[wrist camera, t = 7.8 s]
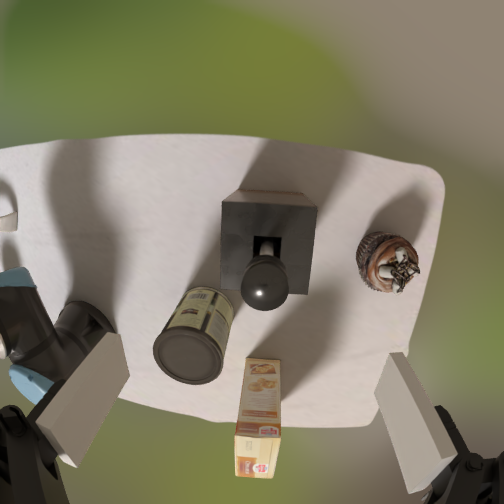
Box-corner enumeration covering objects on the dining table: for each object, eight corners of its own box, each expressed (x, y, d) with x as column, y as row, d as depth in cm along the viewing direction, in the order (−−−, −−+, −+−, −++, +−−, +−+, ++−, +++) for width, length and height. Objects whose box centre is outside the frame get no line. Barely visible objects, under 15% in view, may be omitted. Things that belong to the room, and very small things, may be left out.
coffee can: (199, 342, 53) (180, 392, 40) (168, 300, 51) (139, 343, 37) (245, 322, 51) (236, 373, 38) (214, 276, 49) (194, 318, 35)
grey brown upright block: (235, 250, 47) (220, 288, 33) (237, 189, 44) (221, 201, 30) (296, 254, 47) (307, 294, 32) (302, 193, 44) (317, 207, 29)
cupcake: (371, 215, 44) (395, 229, 34) (411, 245, 45) (438, 264, 35) (340, 263, 47) (355, 288, 37) (381, 289, 48) (402, 316, 38)
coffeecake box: (244, 357, 54) (233, 435, 35) (281, 359, 53) (283, 437, 35) (243, 406, 58) (234, 477, 39) (275, 408, 58) (273, 479, 39)
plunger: (242, 250, 42) (218, 325, 23) (244, 203, 40) (218, 241, 20) (290, 254, 42) (305, 331, 22) (294, 206, 40) (316, 247, 20)
